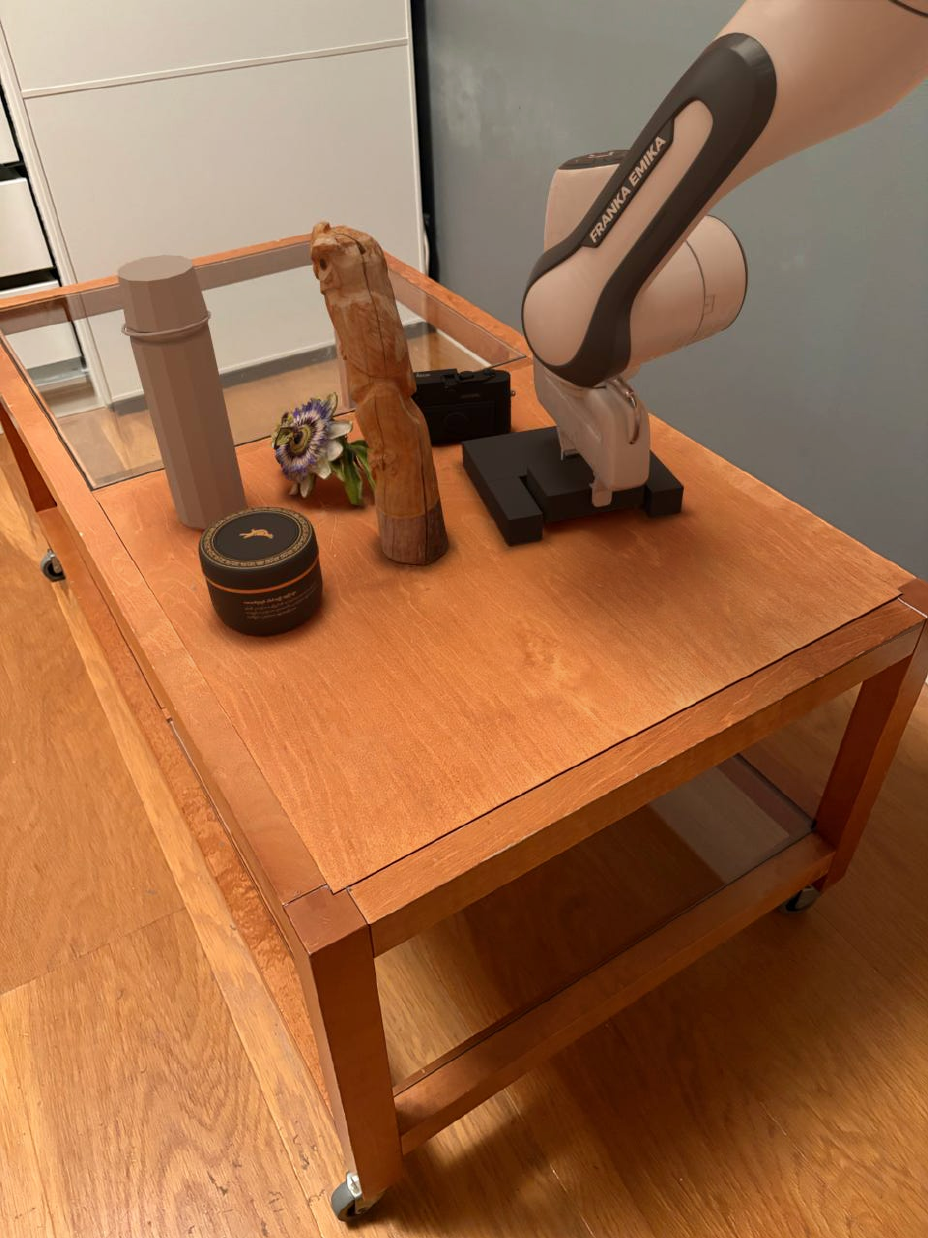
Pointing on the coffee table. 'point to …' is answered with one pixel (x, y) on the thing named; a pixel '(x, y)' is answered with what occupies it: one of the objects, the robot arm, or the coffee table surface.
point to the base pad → (504, 480)
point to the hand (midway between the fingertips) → (585, 483)
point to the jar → (262, 570)
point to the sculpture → (382, 391)
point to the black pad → (572, 490)
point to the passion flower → (320, 449)
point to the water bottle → (182, 386)
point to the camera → (464, 404)
